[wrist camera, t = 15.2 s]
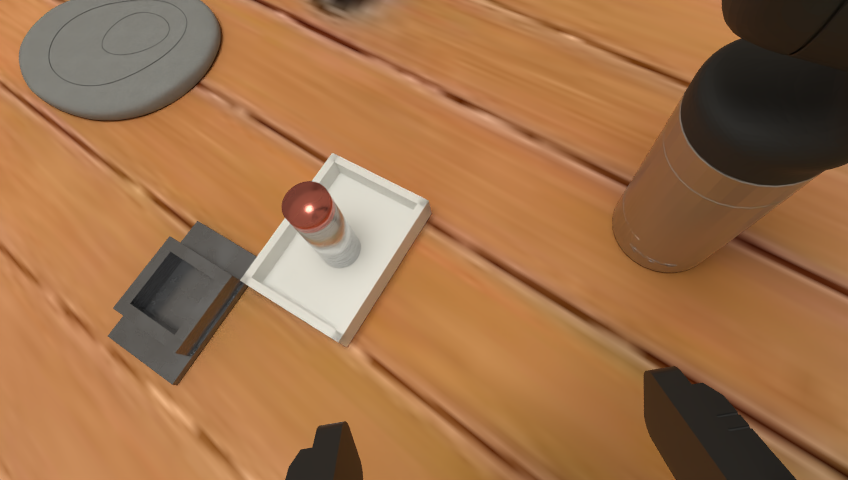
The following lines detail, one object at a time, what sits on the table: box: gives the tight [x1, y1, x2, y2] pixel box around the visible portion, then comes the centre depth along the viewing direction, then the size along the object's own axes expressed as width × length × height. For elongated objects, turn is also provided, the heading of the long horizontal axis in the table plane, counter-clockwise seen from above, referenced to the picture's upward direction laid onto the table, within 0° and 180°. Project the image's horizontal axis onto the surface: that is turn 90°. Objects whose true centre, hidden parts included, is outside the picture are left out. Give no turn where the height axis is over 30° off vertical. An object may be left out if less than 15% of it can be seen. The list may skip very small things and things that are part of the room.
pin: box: [282, 181, 361, 268], centre depth 43 cm, size 4×4×10 cm
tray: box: [240, 153, 432, 347], centre depth 47 cm, size 16×12×3 cm
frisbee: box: [19, 0, 221, 120], centre depth 61 cm, size 20×27×3 cm
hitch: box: [108, 221, 257, 385], centre depth 47 cm, size 14×9×3 cm, turn 149°
